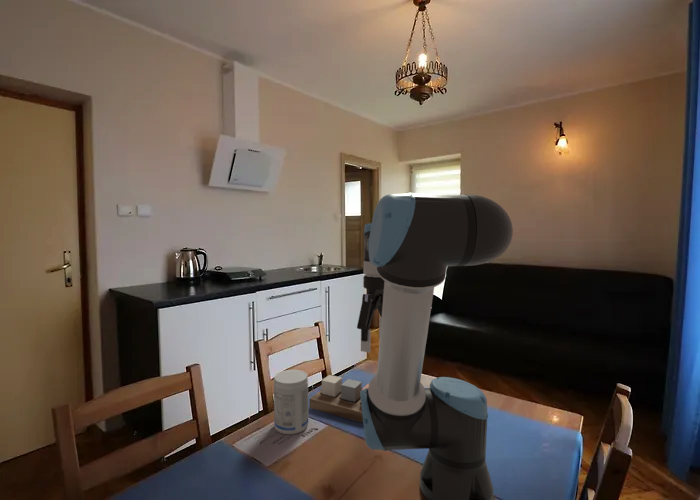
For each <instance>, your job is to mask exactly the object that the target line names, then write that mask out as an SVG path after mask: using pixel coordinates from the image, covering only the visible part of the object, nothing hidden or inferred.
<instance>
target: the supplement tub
mask: <svg viewBox="0 0 700 500" xmlns="http://www.w3.org/2000/svg"><path fill="white" fill-rule="evenodd" d="M273 411H274V412H273V414H274V415H273V418H274V419H273V420H274V422H273V423H274V424H273V425H274V428H275V430H276V431H277V432H278V433H279V434H282V435H283V434H284V435H295V434H298V433H299V434H300V433H301V432H303V431H304V430H305V429H306V428H308V425H309V379H308V373H307V372H306V371H303V370H300V369H286V370H281V371H280V372H277V373H276V374H275V375H274V378H273Z"/></svg>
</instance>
